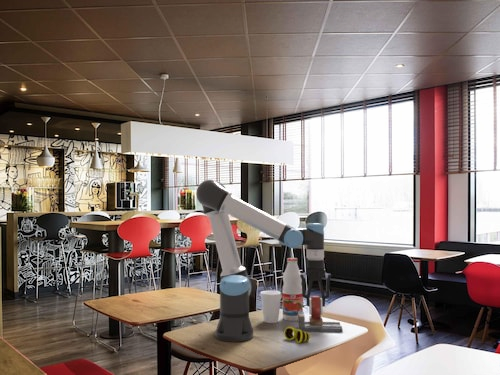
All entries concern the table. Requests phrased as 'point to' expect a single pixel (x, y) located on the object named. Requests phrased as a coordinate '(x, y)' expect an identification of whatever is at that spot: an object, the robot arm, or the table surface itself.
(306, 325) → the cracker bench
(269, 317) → the foam cup
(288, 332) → the opera glasses
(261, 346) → the table surface
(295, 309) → the fruit juice
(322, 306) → the robot arm
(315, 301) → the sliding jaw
